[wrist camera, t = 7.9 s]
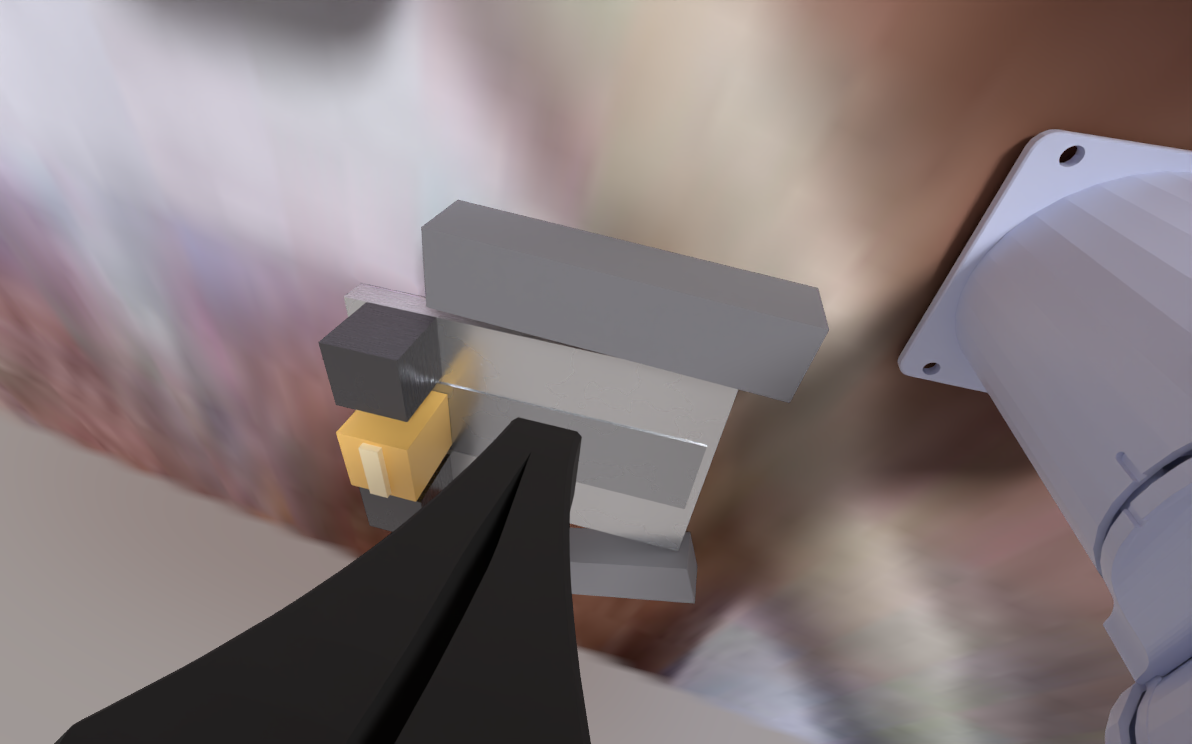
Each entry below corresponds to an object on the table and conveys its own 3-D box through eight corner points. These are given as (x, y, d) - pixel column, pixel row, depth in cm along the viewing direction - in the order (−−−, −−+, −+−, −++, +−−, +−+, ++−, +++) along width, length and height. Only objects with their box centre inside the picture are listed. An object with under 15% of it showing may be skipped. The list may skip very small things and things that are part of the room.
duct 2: (690, 526, 27) (686, 568, 25) (697, 561, 28) (694, 603, 26) (475, 519, 31) (457, 555, 29) (491, 550, 32) (476, 586, 30)
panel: (740, 366, 20) (740, 441, 16) (680, 531, 27) (671, 607, 23) (360, 283, 21) (293, 336, 18) (395, 458, 28) (350, 520, 25)
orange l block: (447, 394, 22) (403, 456, 19) (452, 444, 24) (412, 507, 21) (384, 379, 23) (331, 437, 20) (394, 429, 25) (347, 489, 22)
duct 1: (817, 284, 18) (829, 329, 15) (783, 353, 19) (789, 402, 17) (461, 197, 19) (421, 227, 16) (462, 270, 20) (426, 307, 18)
